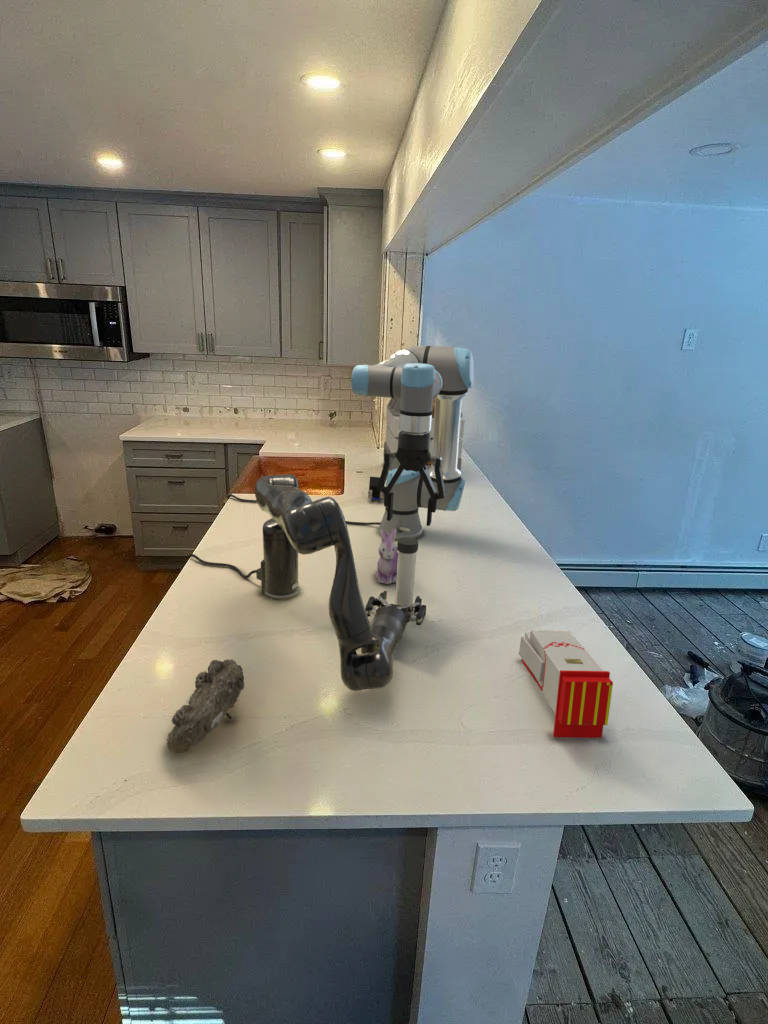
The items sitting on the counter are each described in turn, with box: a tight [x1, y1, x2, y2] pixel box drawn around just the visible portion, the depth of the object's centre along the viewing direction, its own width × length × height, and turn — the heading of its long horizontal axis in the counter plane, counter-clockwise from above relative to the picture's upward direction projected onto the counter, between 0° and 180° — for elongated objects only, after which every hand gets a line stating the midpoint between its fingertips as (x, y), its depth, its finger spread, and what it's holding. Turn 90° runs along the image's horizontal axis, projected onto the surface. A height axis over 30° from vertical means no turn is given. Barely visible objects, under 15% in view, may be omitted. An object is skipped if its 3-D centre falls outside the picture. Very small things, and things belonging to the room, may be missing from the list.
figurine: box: [375, 529, 398, 585], centre depth 164 cm, size 9×10×15 cm
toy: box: [518, 629, 614, 739], centre depth 118 cm, size 12×13×30 cm
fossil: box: [166, 658, 245, 754], centre depth 106 cm, size 22×10×15 cm
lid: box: [396, 537, 419, 554], centre depth 143 cm, size 5×5×2 cm
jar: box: [394, 551, 417, 605], centre depth 146 cm, size 5×5×20 cm
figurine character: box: [367, 476, 384, 503], centre depth 235 cm, size 7×8×15 cm
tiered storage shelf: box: [383, 398, 465, 472], centre depth 268 cm, size 34×33×41 cm
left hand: (401, 596), depth 144 cm, fingers open, 8 cm apart
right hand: (409, 521), depth 140 cm, fingers open, 9 cm apart
